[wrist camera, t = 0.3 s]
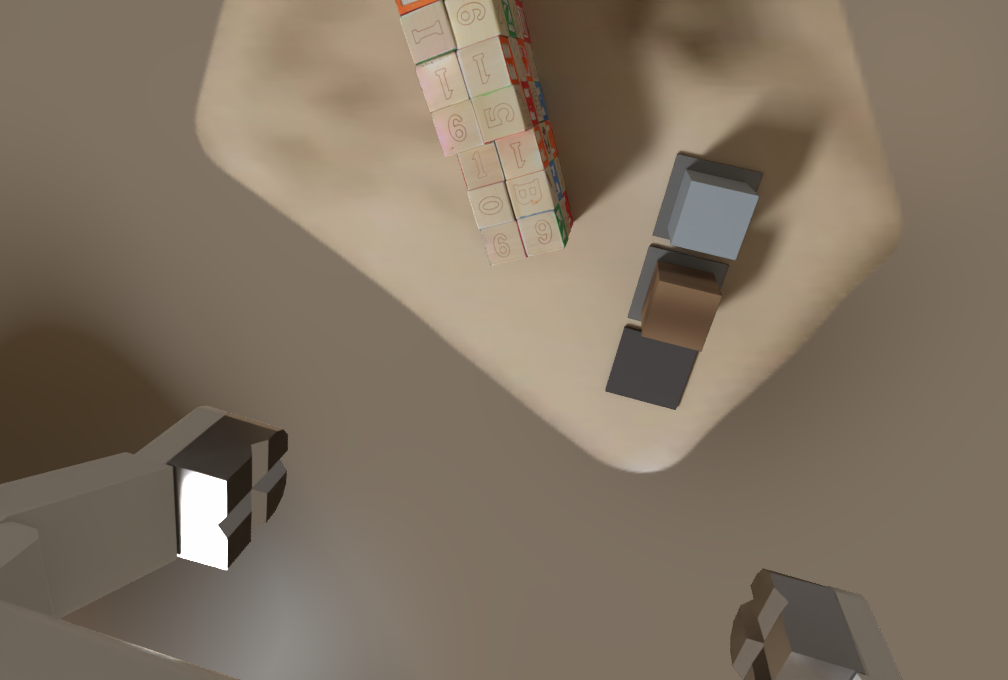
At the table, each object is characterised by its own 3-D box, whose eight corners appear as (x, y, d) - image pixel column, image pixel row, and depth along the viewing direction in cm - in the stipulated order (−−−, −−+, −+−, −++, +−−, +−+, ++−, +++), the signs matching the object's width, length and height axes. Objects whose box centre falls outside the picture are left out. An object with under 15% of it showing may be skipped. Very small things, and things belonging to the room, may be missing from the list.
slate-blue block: (685, 169, 51) (691, 180, 45) (746, 182, 50) (759, 196, 45) (667, 227, 53) (670, 244, 47) (725, 240, 52) (735, 260, 47)
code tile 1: (649, 245, 54) (649, 246, 54) (728, 264, 53) (728, 265, 53) (627, 316, 57) (627, 317, 57) (702, 335, 56) (702, 336, 56)
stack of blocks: (576, 223, 55) (560, 261, 44) (510, 239, 56) (479, 280, 45) (511, -42, 47) (473, -77, 36) (438, -14, 49) (380, -39, 38)
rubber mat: (624, 326, 57) (624, 327, 57) (698, 345, 57) (699, 346, 56) (605, 389, 60) (605, 391, 60) (675, 408, 60) (675, 410, 59)
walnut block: (657, 259, 54) (659, 280, 49) (713, 273, 53) (722, 296, 48) (641, 310, 56) (641, 336, 51) (695, 324, 56) (701, 351, 50)
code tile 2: (677, 153, 50) (677, 154, 50) (762, 172, 50) (763, 173, 49) (652, 234, 53) (652, 235, 53) (732, 253, 53) (732, 254, 52)
